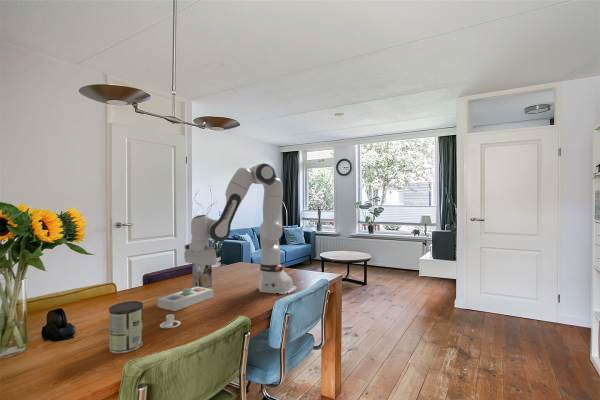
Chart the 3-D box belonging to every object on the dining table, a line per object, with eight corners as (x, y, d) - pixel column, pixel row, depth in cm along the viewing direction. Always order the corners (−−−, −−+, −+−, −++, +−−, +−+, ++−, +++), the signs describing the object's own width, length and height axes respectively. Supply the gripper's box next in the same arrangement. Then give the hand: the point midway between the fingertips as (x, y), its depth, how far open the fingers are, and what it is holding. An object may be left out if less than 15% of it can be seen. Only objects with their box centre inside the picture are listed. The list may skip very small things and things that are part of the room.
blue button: (180, 302, 149) (180, 296, 149) (173, 305, 145) (173, 298, 145) (174, 301, 151) (174, 295, 151) (167, 303, 147) (167, 297, 147)
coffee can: (119, 339, 112) (119, 301, 112) (148, 339, 113) (148, 300, 113) (102, 354, 102) (102, 311, 102) (133, 353, 103) (134, 310, 103)
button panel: (197, 293, 168) (197, 286, 168) (213, 297, 162) (213, 289, 162) (157, 306, 147) (157, 298, 147) (174, 311, 141) (174, 302, 141)
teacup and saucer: (169, 331, 121) (169, 321, 121) (153, 328, 124) (153, 318, 124) (185, 323, 129) (185, 313, 129) (169, 320, 132) (169, 311, 132)
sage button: (193, 295, 156) (193, 289, 156) (186, 297, 152) (186, 291, 152) (187, 294, 158) (187, 288, 158) (180, 296, 154) (180, 290, 154)
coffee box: (205, 284, 187) (205, 257, 187) (212, 286, 183) (212, 258, 183) (192, 287, 180) (192, 259, 180) (198, 289, 176) (198, 261, 176)
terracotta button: (204, 294, 162) (204, 288, 162) (198, 296, 158) (198, 290, 158) (198, 293, 164) (198, 287, 164) (192, 295, 161) (192, 289, 161)
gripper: (219, 246, 161) (219, 272, 161) (191, 244, 171) (192, 269, 171) (210, 248, 155) (210, 275, 155) (182, 245, 165) (182, 271, 165)
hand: (200, 272), depth 163 cm, fingers closed
